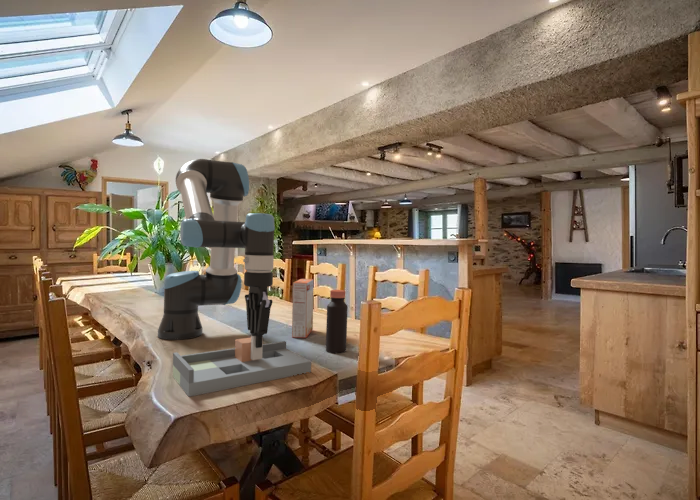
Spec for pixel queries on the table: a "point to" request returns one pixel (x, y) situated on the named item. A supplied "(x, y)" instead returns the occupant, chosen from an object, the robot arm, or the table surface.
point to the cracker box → (302, 308)
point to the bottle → (336, 323)
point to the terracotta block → (243, 349)
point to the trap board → (235, 368)
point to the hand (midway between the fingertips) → (256, 358)
